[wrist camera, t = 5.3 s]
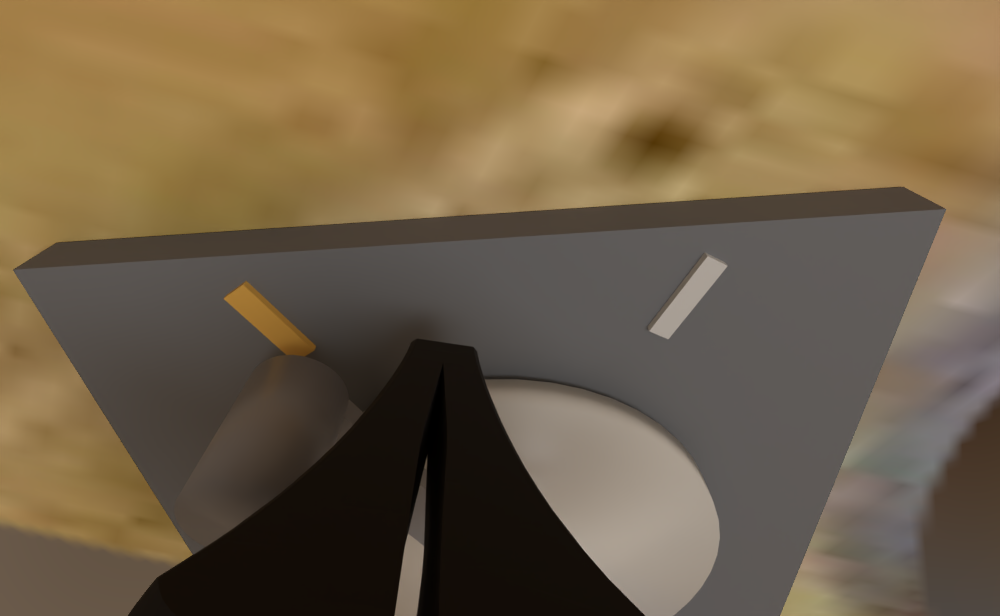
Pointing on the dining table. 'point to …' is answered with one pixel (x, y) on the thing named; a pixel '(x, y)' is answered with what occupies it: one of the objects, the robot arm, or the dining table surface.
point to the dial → (537, 440)
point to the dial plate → (531, 333)
